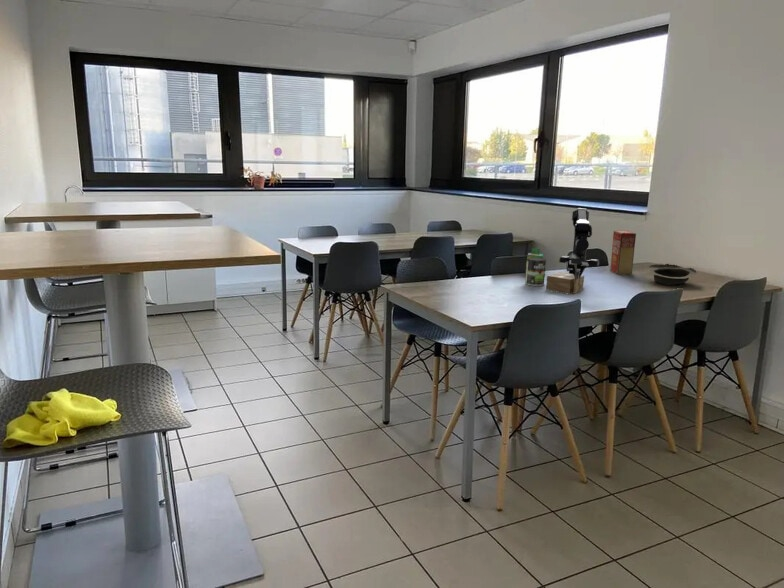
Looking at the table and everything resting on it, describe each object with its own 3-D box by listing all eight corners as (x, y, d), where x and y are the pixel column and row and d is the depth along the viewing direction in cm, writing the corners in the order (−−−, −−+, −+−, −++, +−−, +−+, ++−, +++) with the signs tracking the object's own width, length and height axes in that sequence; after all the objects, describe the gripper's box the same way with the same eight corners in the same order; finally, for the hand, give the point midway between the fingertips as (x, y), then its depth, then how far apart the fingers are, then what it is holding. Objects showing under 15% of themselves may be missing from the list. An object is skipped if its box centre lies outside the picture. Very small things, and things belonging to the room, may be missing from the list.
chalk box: (525, 274, 342) (527, 249, 338) (526, 271, 351) (528, 247, 347) (541, 275, 339) (543, 250, 336) (542, 272, 348) (543, 248, 344)
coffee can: (547, 285, 312) (549, 260, 308) (530, 286, 309) (532, 260, 306) (538, 281, 321) (540, 256, 318) (521, 282, 319) (523, 257, 315)
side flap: (581, 289, 303) (583, 267, 300) (583, 289, 302) (585, 268, 299) (572, 293, 292) (574, 271, 289) (574, 294, 292) (576, 272, 289)
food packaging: (608, 270, 356) (613, 230, 350) (624, 270, 356) (628, 230, 350) (617, 274, 343) (621, 233, 337) (632, 274, 343) (637, 233, 337)
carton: (558, 285, 312) (560, 272, 310) (581, 289, 303) (583, 275, 301) (545, 289, 302) (547, 275, 300) (569, 294, 293) (570, 279, 291)
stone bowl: (675, 277, 336) (678, 262, 334) (703, 290, 313) (707, 274, 310) (637, 277, 332) (639, 262, 330) (662, 290, 309) (665, 274, 306)
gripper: (557, 247, 286) (554, 277, 290) (596, 251, 276) (592, 283, 280) (563, 244, 295) (560, 274, 299) (601, 248, 286) (597, 279, 289)
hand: (577, 277), depth 291 cm, fingers closed
